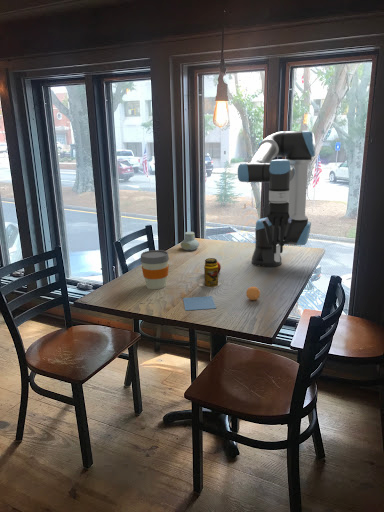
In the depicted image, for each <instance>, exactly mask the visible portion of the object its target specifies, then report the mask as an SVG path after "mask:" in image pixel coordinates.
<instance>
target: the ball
mask: <svg viewBox="0 0 384 512" xmlns="http://www.w3.org/2000/svg"><path fill="white" fill-rule="evenodd" d="M245 294H246V297H247V299H248V300H250V301H256V300H258V299H259V298H260V295H261V290H260V289H259V288H258V287H257V286H249V287H248V289H246V292H245Z"/></svg>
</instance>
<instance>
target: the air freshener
mask: <svg viewBox="0 0 384 512" xmlns="http://www.w3.org/2000/svg"><path fill="white" fill-rule="evenodd" d="M199 246H200V241H198V240H197V239H196V236H195V232H194V231H186V232H184V239H183V240H182V241H181V242H180V248H182V249H183V250H185V251H195V250H196V249H198V248H199Z"/></svg>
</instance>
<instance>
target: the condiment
mask: <svg viewBox="0 0 384 512" xmlns="http://www.w3.org/2000/svg"><path fill="white" fill-rule="evenodd" d="M217 261H218V259H216V258H214V257H208V258H206V259H204V265H203V266H204V267H203V268H204V269H203V270H204V271H203V272H204V280H203V281H202V282H200V283H199V284H198V285H197V286H198V287H203V288H204V287H205V288H209V289H216V288H218V286H220V285H221V284H222V282H219V274H218V265H217ZM204 285H205V286H204Z"/></svg>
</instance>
